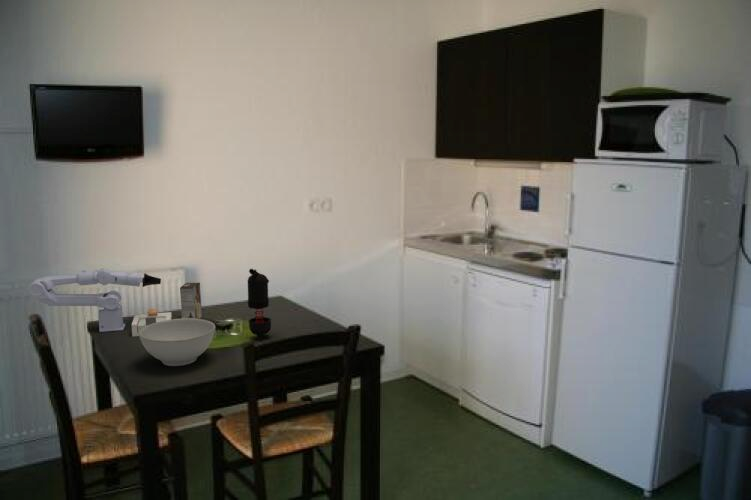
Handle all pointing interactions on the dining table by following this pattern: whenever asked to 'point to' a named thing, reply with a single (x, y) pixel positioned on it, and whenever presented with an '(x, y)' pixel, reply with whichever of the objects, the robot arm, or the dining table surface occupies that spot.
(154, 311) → the brown egg
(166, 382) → the dining table surface
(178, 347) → the decorative bowl
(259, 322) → the filter
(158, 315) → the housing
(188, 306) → the coffee box
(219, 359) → the dining table surface
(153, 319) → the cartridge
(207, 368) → the dining table surface
